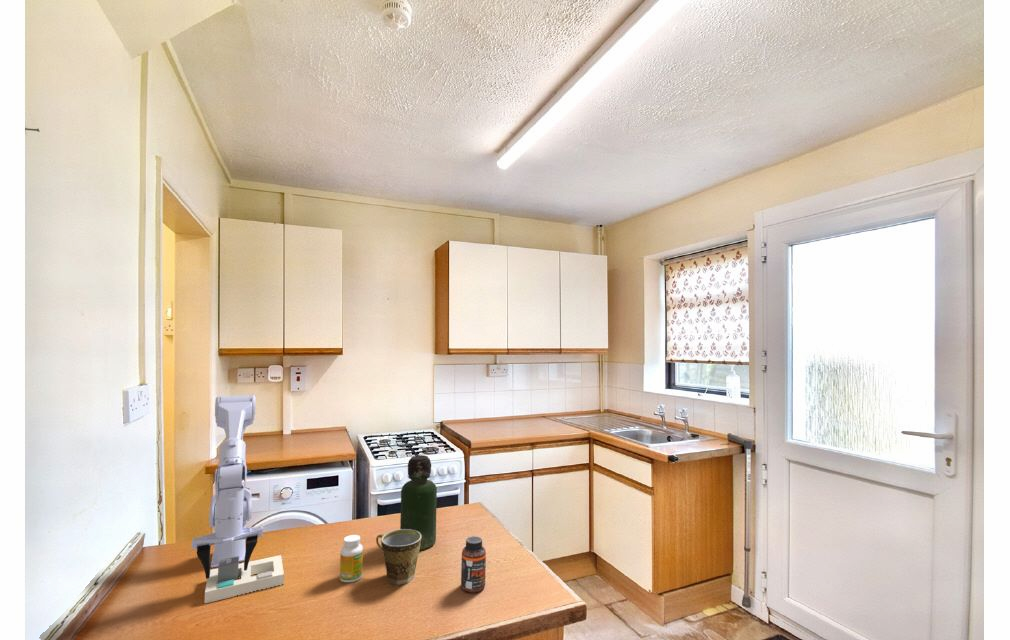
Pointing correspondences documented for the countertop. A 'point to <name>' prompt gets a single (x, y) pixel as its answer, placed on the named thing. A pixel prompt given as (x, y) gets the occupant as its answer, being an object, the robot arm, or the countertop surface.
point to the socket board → (246, 579)
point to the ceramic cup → (400, 554)
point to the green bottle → (419, 501)
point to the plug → (228, 569)
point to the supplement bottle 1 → (351, 559)
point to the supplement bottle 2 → (473, 565)
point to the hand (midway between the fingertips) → (227, 572)
